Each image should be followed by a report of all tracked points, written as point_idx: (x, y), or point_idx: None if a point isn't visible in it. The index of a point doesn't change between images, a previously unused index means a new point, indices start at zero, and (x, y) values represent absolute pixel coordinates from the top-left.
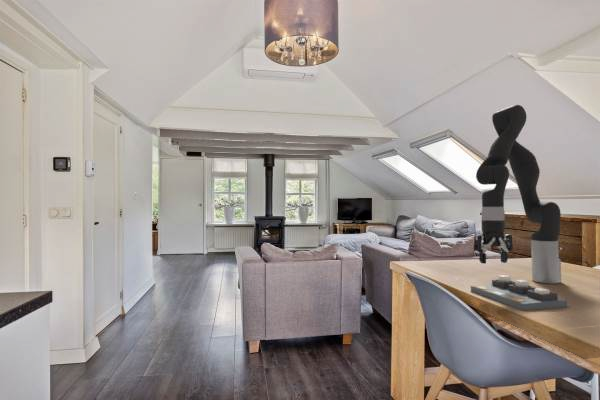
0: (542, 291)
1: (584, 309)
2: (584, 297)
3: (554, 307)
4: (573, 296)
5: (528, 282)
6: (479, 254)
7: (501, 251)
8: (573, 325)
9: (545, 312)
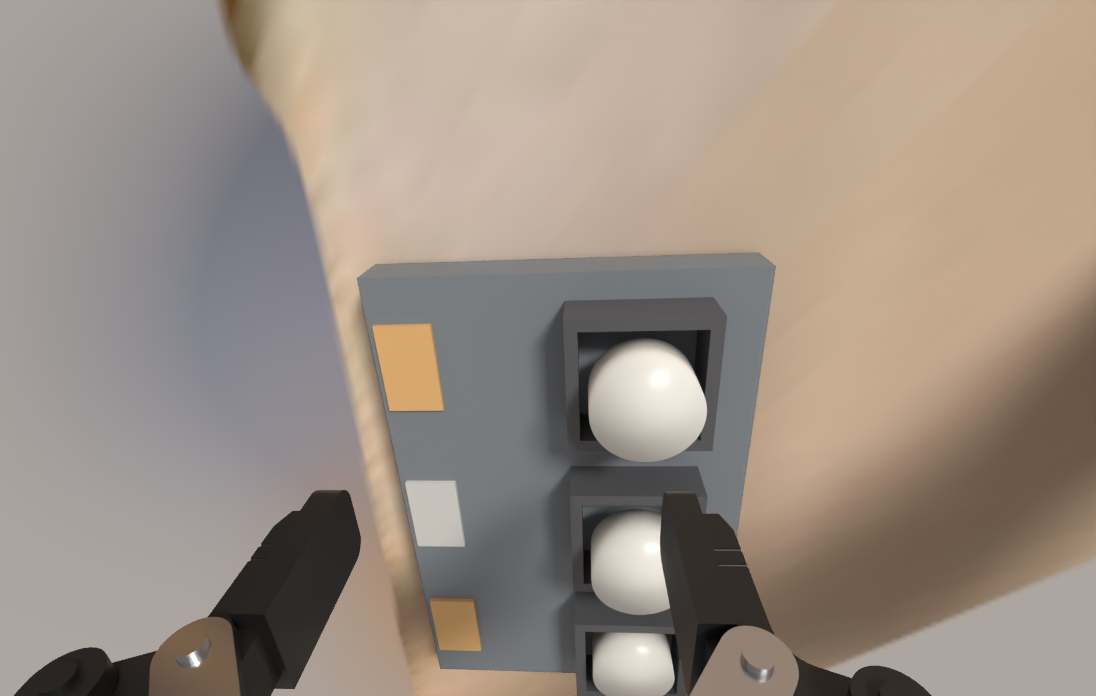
0: (606, 693)
1: None
2: (1036, 545)
3: None
4: (1000, 517)
5: (661, 607)
6: (220, 605)
7: (729, 630)
8: None
9: None
